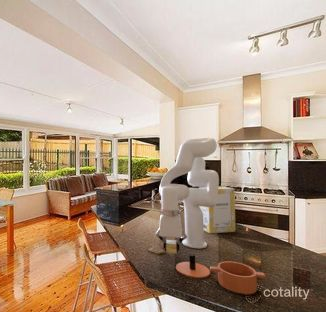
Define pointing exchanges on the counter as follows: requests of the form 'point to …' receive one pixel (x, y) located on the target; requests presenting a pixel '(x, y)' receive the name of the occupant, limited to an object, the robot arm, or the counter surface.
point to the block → (171, 246)
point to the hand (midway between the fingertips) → (171, 250)
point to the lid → (192, 268)
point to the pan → (237, 277)
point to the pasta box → (220, 212)
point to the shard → (157, 249)
